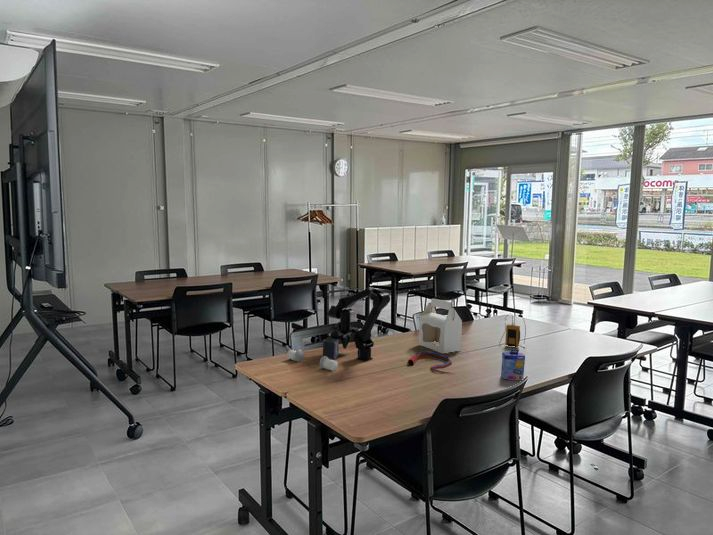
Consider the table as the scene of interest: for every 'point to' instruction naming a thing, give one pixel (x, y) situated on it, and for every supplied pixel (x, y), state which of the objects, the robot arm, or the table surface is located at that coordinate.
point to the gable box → (440, 327)
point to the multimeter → (513, 334)
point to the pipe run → (324, 363)
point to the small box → (331, 348)
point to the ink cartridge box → (512, 365)
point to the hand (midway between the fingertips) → (344, 348)
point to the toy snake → (432, 355)
